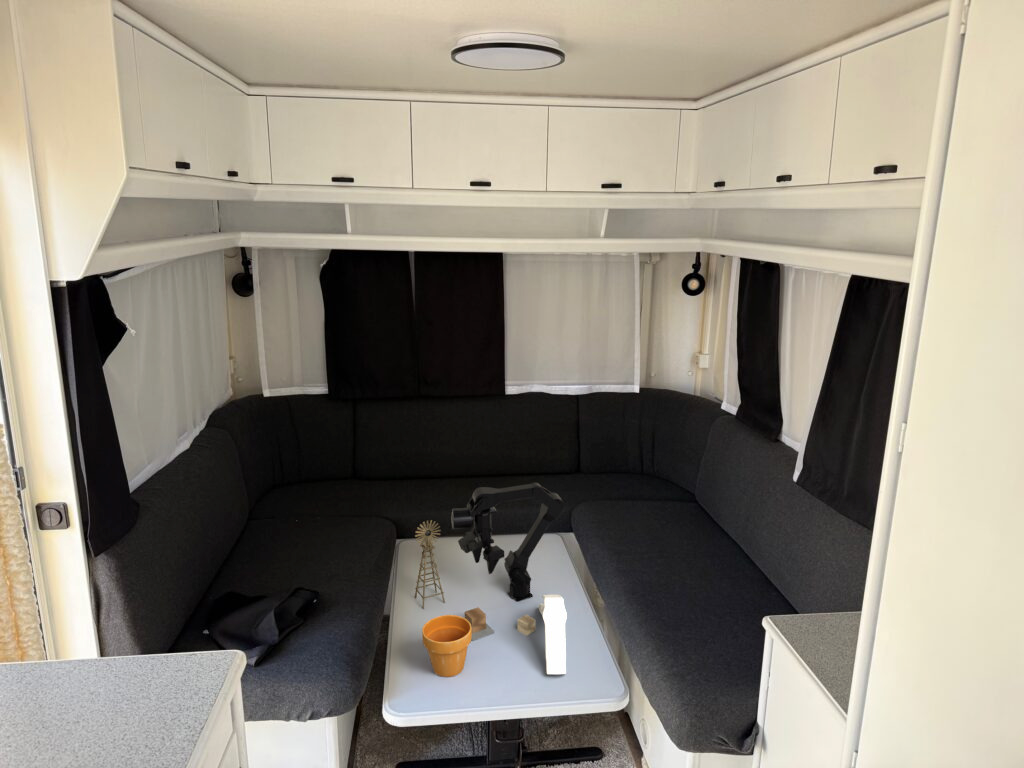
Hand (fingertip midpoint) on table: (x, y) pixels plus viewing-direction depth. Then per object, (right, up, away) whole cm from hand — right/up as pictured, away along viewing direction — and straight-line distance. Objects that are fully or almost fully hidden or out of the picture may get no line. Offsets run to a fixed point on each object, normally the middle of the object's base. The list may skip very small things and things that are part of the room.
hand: (483, 568), depth 236 cm
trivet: (-2, -16, -14) cm, 21 cm away
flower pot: (-9, -20, -33) cm, 40 cm away
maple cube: (+14, -16, -15) cm, 26 cm away
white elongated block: (+22, -17, -22) cm, 35 cm away
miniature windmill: (-19, -12, +3) cm, 22 cm away
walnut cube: (-2, -15, -15) cm, 21 cm away
